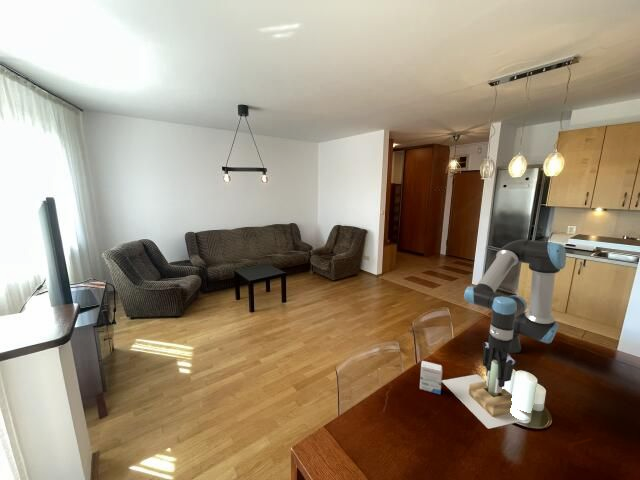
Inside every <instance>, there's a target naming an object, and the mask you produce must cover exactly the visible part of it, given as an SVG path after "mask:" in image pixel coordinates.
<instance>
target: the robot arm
mask: <svg viewBox="0 0 640 480" xmlns="http://www.w3.org/2000/svg"><path fill="white" fill-rule="evenodd" d="M495 256H496V258H495V259H494V261H493V262H492V263H491V265H490V266H489V267H488V269H487V270H486V272H485V273H484V275H483V276H481V278H480V280H479V281H478V283H477V284H476V286H471V285H470V286H469V285H468V286H467V287H466V289H465V290H464V292H463V293H464V294H463V298H464V300H465V301H466V302H467V303H469V304H473V305H474V306H475V305H476V306H479V307H482V308H486V309H488V310H491V316H490V317H491V318H490V319H491V320H490V326H489V327H490V328H489V335H488V341H486V342H482V348H483V350H482V352H483V353H482V366H484V367H485V370H486V371H485V375H486V380H485V381H486V385H487V386H489V380H490V372H491V364H492V360H493V359H497V362H498V375H499V377H497V378H496V386H495V393H501V392H502V387H503V388H505V384H506V382H510V381H511V380H512V376H513V371H514V366H515V365H516V363H517V359H515V358H514V359H513V358H512V357H511V354H516V353H517V354H518V353H521V350H522V344H521V342H520V341H521V340H520V335H522V336H524V337H528V338H530V339H533V340H535V341H537V342H542V343H544V344H551V343H552V341H553V340H554V339H555V336H556V334H557V332H558V328H559V323H558V322H556V321H555V317H554V316H553V315H552V309H553V308H552V307H553V299H554V290H555V289H554V287H555V280H556V279H555V278H556V274H558V273H560V271H561V270H563V269H565V268H566V264H567V250H566V248H565V246H564V245H563V244H561V243H556V242H552V241H550V242H549V241H542V240H541V241H540V240H531V239H518V240H514V241H511V242H508V243H507V244H505V245H504V246H502V247H501V248H500V249H498V251H497V252H496V254H495ZM518 263H522V264H523V263H524V264H528V269H529V270H530V271H531V282H530V283H531V285H530V296H529V297H530V298H529V299H530V300H529V309H528V310H527V307H528V304H527V301H526V300H525V298H523V297H521V296H519V295H516V294H514V295H513V294H512V295H505V294H501V293H497V292H496V291H497V290H498V288H499V286H500V285H501V284H502V282H503V280H504V279H505V278H506V277H507V275H508V273H509V271H511V269H512V267H513V266H515V265H517V264H518ZM526 310H527V311H526ZM525 311H526V312H525Z"/></svg>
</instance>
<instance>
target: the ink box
mask: <svg viewBox="0 0 640 480" xmlns="http://www.w3.org/2000/svg"><path fill="white" fill-rule="evenodd" d="M419 376H420V377H419V378H420V379H419V390H424V391H427V392H430V393H434V394H438V395H441V392H442V383H443V382H442V380H443V366H442V365H441V364H437V363H434V362H430V361H429V362H428V361H427V360H426V361H425V360H421V364H420V375H419Z"/></svg>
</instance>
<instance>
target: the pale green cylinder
mask: <svg viewBox="0 0 640 480" xmlns="http://www.w3.org/2000/svg"><path fill="white" fill-rule="evenodd" d="M497 377H499V375H498V362H497V359H493V360H492V364H491V372H490V380H489V388H488V393H489V394H490V395H491V396H493V397H498V393H495V386H496V378H497Z"/></svg>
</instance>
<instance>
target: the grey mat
mask: <svg viewBox="0 0 640 480" xmlns="http://www.w3.org/2000/svg"><path fill="white" fill-rule="evenodd" d="M483 381H486V380H485V379H484V378H482V377H481V376H480V375H478V374H476V373H475V374H472V375H466V376H460V377H454V378H449V379H442V382H441V383H442V384H443V385H445V386H446V388H447V389H449V390H450V392H452V394H454V396H455V397H456V398H457V399H459V400H460V401H461V403H462V404H463V405H465V407H466V408H467V409H468V410H469V411H470V412H471V413H472V414H473V415H474V416H475V417H476V418H477V420H479V421H480V423H482V424H483V425H484V426H485V428H487V429H493V428H498V427H502V426H506V425H510V424H516V423H518V422H523V421H522V420H519V419H517V418H515V417H514V416H512V414H511V413H508V414H503V415H499V416H494V417H492V416H491V415H490V414H489V413H488V412H487V411H486V410H485V409H484V408H482V407H481V406H480V405H479V404H478V403H477V402H476V401H475V400H474V399H473V398H472V397H471V396H470V395H469V386H470V384H472V383H478V382H483Z"/></svg>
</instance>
